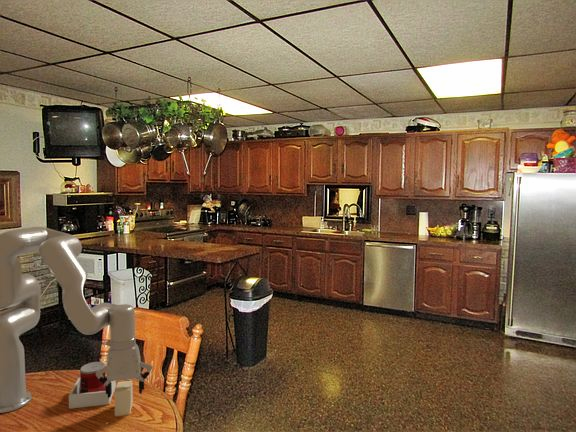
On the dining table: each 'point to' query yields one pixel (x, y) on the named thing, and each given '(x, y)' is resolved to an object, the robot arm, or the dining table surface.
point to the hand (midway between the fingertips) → (125, 393)
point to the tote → (88, 396)
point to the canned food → (91, 377)
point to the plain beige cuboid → (123, 398)
